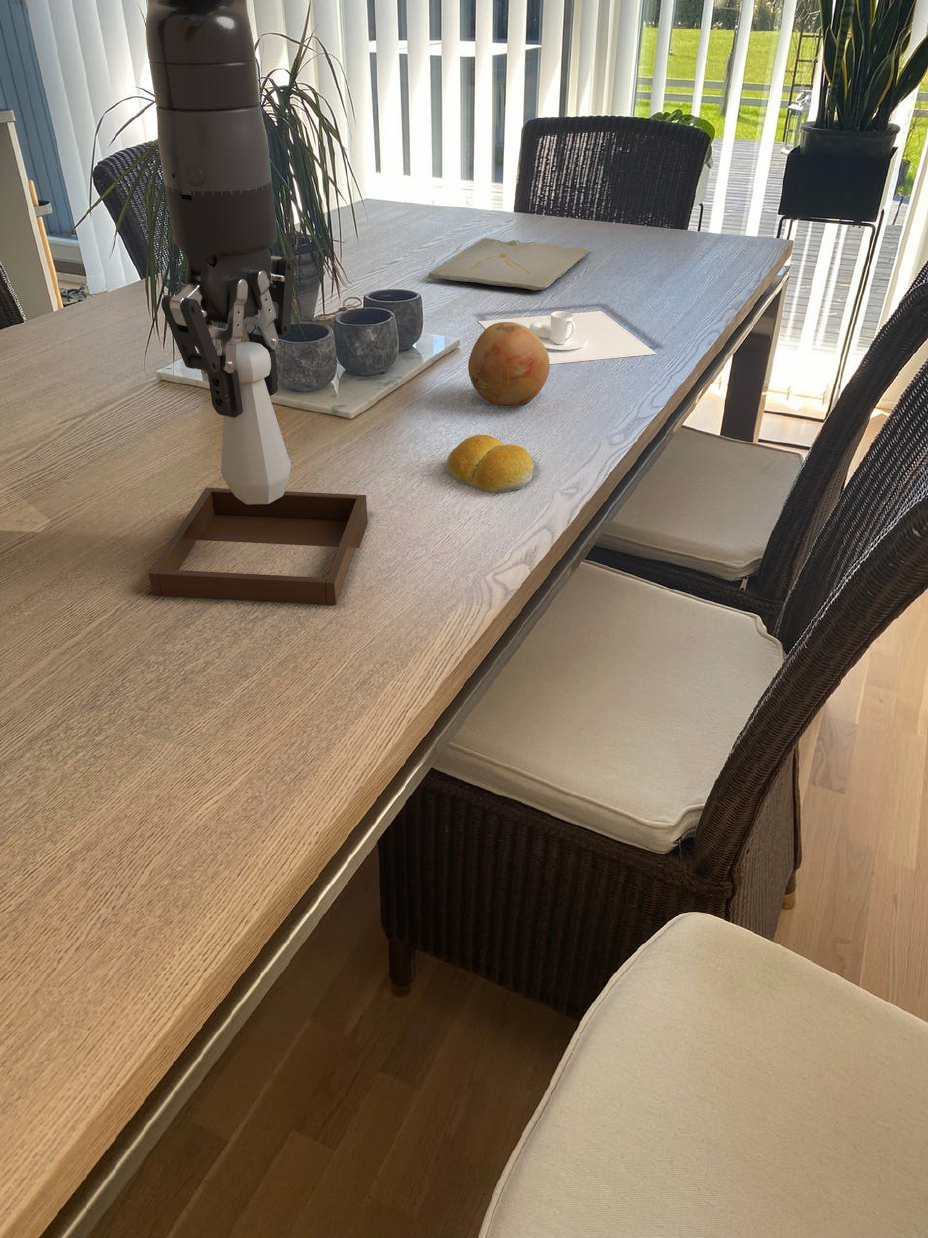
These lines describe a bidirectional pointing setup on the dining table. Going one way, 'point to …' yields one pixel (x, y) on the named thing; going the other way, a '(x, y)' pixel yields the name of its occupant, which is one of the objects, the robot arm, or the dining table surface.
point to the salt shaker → (254, 434)
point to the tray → (272, 523)
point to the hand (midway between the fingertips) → (247, 402)
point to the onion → (508, 364)
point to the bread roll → (490, 464)
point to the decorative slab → (510, 264)
